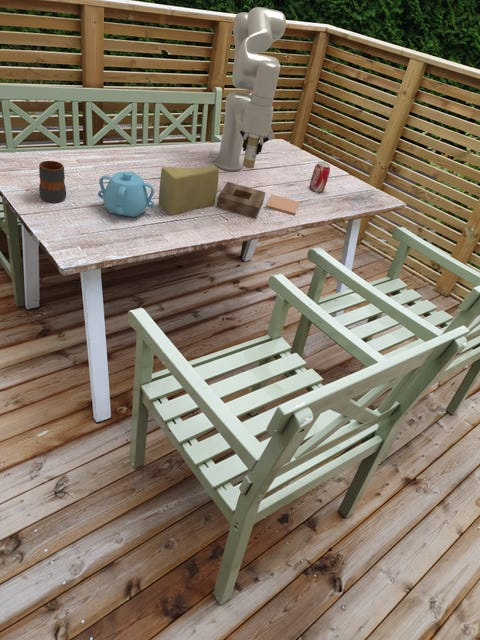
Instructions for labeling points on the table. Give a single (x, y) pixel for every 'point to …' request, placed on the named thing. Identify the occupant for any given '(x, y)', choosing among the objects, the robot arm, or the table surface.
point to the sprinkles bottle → (251, 151)
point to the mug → (52, 181)
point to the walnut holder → (240, 199)
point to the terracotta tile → (282, 204)
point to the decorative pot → (126, 194)
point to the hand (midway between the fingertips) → (251, 151)
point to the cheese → (187, 188)
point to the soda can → (320, 177)
